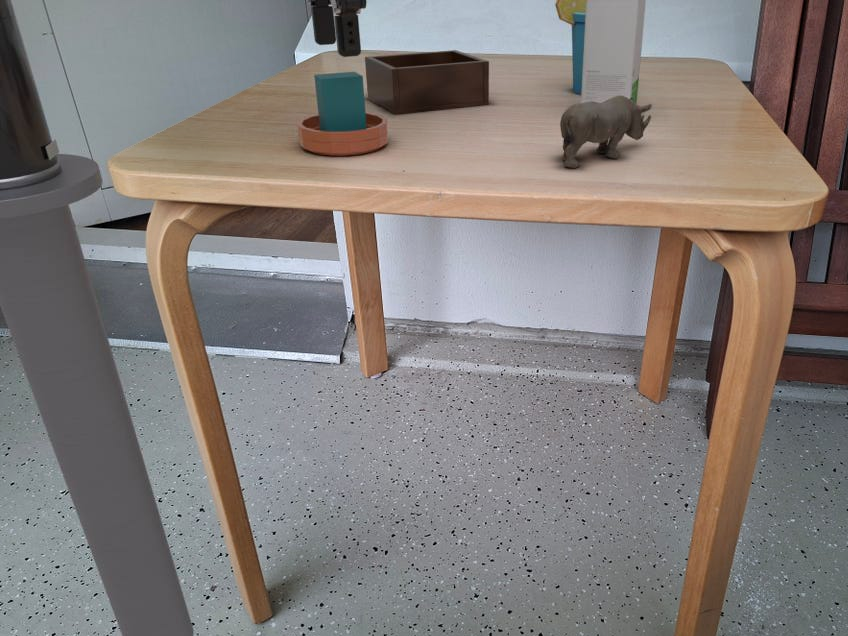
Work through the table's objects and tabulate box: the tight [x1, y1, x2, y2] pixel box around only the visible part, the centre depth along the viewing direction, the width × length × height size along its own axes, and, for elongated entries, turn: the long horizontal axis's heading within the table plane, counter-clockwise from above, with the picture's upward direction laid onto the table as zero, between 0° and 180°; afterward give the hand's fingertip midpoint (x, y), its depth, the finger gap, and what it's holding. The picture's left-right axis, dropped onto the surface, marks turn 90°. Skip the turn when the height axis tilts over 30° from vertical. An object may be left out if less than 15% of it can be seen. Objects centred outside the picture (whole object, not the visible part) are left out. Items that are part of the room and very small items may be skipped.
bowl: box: [296, 111, 389, 157], centre depth 82 cm, size 10×10×3 cm
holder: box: [364, 49, 490, 115], centre depth 101 cm, size 14×11×6 cm
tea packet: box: [313, 71, 367, 131], centre depth 80 cm, size 4×3×7 cm, turn 116°
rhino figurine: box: [559, 96, 653, 169], centre depth 78 cm, size 4×14×6 cm, turn 129°
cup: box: [555, 0, 586, 95], centre depth 105 cm, size 14×8×15 cm, turn 119°
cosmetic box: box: [580, 0, 647, 105], centre depth 92 cm, size 8×7×16 cm
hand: (337, 49), depth 77 cm, fingers open, 8 cm apart
